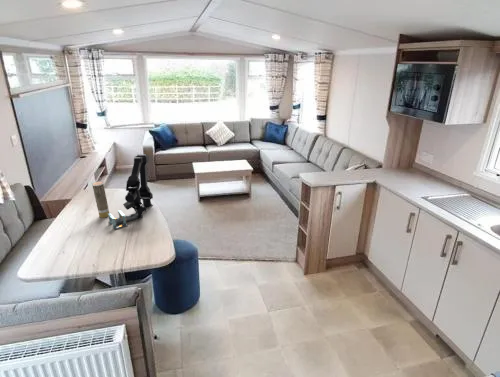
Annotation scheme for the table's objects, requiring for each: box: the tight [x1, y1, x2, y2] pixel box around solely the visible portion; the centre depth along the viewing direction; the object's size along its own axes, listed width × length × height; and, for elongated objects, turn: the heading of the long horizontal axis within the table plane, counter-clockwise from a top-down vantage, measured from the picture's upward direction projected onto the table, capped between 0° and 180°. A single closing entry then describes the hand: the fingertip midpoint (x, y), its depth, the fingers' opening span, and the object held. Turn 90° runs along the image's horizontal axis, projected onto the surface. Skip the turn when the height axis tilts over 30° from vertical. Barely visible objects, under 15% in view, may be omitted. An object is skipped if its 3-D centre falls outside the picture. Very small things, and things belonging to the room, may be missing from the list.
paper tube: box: [92, 181, 110, 219], centre depth 215 cm, size 7×7×25 cm
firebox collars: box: [108, 209, 128, 231], centre depth 207 cm, size 14×8×7 cm, turn 38°
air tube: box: [115, 212, 144, 226], centre depth 212 cm, size 18×4×4 cm, turn 128°
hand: (138, 216), depth 217 cm, fingers closed on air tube, 4 cm apart
